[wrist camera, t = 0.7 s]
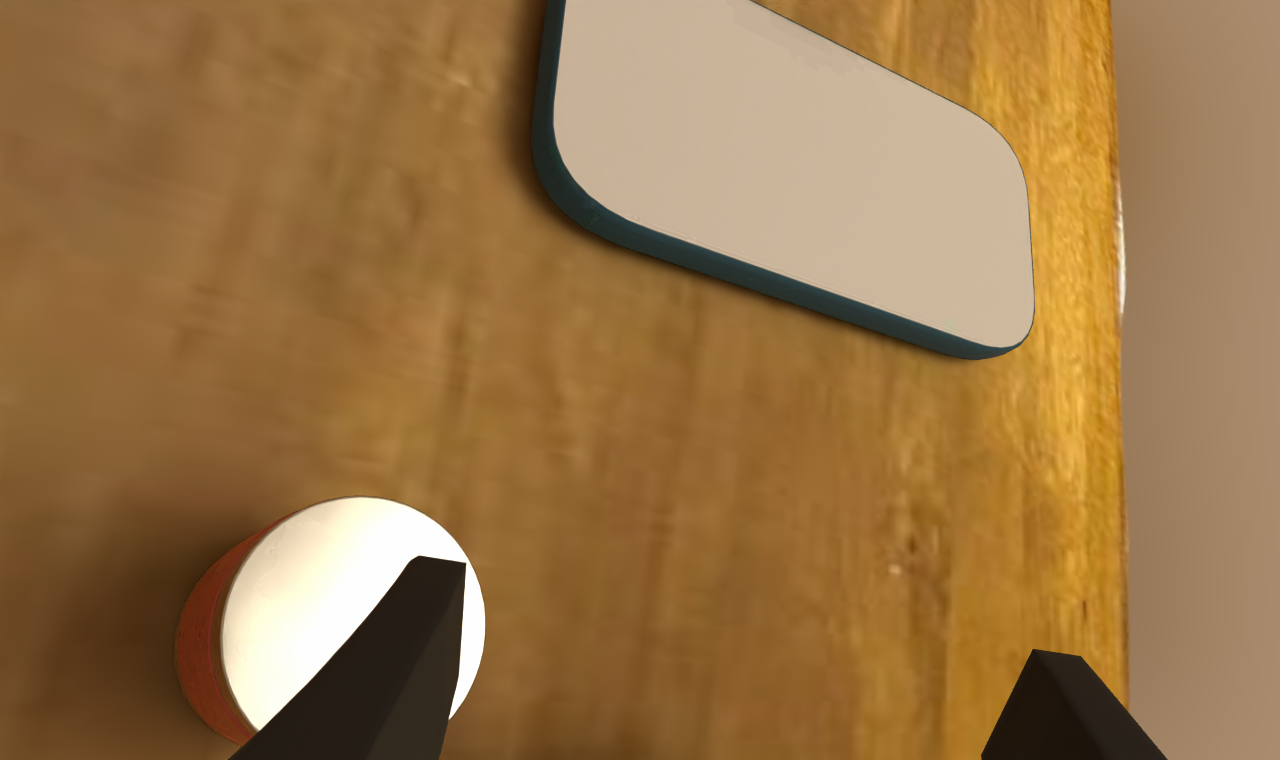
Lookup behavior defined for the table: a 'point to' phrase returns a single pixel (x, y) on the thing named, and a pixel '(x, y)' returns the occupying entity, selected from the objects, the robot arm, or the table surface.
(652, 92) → the external hard drive
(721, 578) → the table surface
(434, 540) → the tin
